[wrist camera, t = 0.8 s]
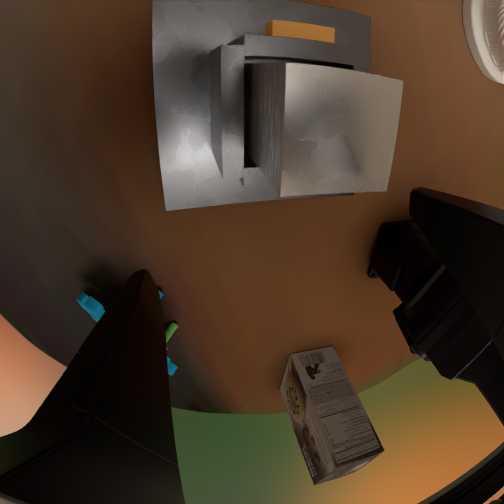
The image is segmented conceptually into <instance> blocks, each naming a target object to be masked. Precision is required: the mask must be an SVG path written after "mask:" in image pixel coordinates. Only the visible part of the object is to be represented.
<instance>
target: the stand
mask: <svg viewBox="0 0 504 504" xmlns="http://www.w3.org/2000/svg"><path fill="white" fill-rule="evenodd" d="M370 30H371V17H367V16H364V15H360V14H356V13H353V12H349V11H344V10H340V9H336V8H331V7H326V6H321V5H315V4H310V3H303V2H297V1H289V0H154V1H153V7H152V47H153V78H154V97H155V112H156V125H157V137H158V148H159V157H160V167H161V175H162V184H163V192H164V199H165V207H166V211H171V210H179V209H187V208H196V207H205V206H214V205H224V204H234V203H245V202H256V201H267V200H280V199H293V198H307V197H323V196H341V195H353V194H354V192H353V193H332V194H314V195H299V196H284V197H280V196H279V194H278V193H277V192H276V190H275V189H274V188H273V186H272V185H271V184H270V182H269V181H268V180H267V179H266V177H265V176H264V175H263V173H262V172H261V171H260V169H259V168H258V167H257V165H256V164H255V163H254V162H253V160H252V159H251V158H250V156H249V155H248V154H247V153H246V151H245V150H244V63H299V64H309V65H319V66H327V67H334V68H341V69H348V70H354V71H359V72H365V73H370V66H371V60H369V55H370Z"/></svg>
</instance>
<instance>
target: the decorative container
mask: <svg viewBox="0 0 504 504" xmlns="http://www.w3.org/2000/svg"><path fill="white" fill-rule="evenodd" d="M462 15H463V26H464V31H465V36H466V40H467V43H468V46H469V49H470V52H471V54H472V56H473V58H474V60H475V63H476V64H477V66H478V67H479V69H480V70H481V72H482V73H483V74H484V75H485V76H486V77H487V78H488V79H491V80H493V81H496V82H499V83H502V84H504V0H463V8H462Z"/></svg>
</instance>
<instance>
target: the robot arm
mask: <svg viewBox="0 0 504 504" xmlns="http://www.w3.org/2000/svg"><path fill="white" fill-rule="evenodd" d="M409 213H410V216H411V218H412V219H413V220H411V221H401V222H390V223H384V224H382V226H381V228H380V231H379V235H378V239H377V243H376V246H375V250H374V253H373V257H372V260H371V264H370V267H369V271H368V276H369V277H370V278H376V277H380V278H381V279H382V280H383V282H384V283H385V284H386V285H387V287H388V288H389V289H390V290H391V291H394V292H395V293H396V294H397V296H398V297H399V298H400V300H401V301H402V303H401V304H400V305H399V306H398V308H397V307H396V308H395V309H394V310H393V314H394V316H395V317H396V318H395V319H396V321H397V323H398V325H399V327H400V329H401V331H402V333H403V335H404V337H405V339H406V341H407V343H408V345H409V349H410V351H411V353H412V354H418V355H419V356H420V357H421V358H422V359H424V360H426V361H431V362H432V363H433V364H434V366H435V367H436V369H437V370H438V372H439V373H440V374H441V376H443V377H446V378H448V379H450V380H453V379H454V378H457V379H461V380H464V381H467V382H471V383H474V384H475V385H476V386H477V387H478V389H479V390H480V392H481V393H482V394H483V396H484V397H485V399H486V400H487V402H488V403H489V404H490V406H491V407H492V409H493V410H494V412H495V413H496V415H497V416H498V418H499V420H500V421H501V423H502V424H503V426H504V210H502V209H499V208H496V207H493V206H490V205H486V204H483V203H480V202H476V201H473V200H469V199H466V198H462V197H459V196H455V195H451V194H447V193H443V192H439V191H435V190H431V189H427V188H423V187H419V188H416V189H413V190H412V191H411V193H410V204H409ZM385 228H386V229H385ZM503 486H504V442H503V443H502V444H501V445H500V446H499V447H497V448H496V449H495V450H494V451H493V452H492V453H490V454H489V455H488V456H487V457H486V458H485V459H483V460H482V461H481V462H479V463H478V464H477V465H475V466H474V467H473V468H471V469H470V470H469V471H467V472H466V473H465V474H463V475H462V476H460V477H459V478H458V479H456V480H455V481H453V482H452V483H450V484H449V485H447V486H446V487H444V488H443V489H441V490H440V491H438V492H436V493H435V494H433V495H431V496H430V497H428V498H427V499H425V500H423V501H421V502H420V503H418V504H483V503H484V502H485V501H487V500H488V499H489V498H490V497H492V496H493V495H494V494H495V493H496V492H497V491H499V490H500V489H501V488H502V487H503ZM0 504H185V501H184V495H183V490H182V484H181V478H180V472H179V467H178V460H177V453H176V446H175V438H174V430H173V421H172V411H171V401H170V390H169V377H168V363H167V345H166V334H165V327H164V321H163V314H162V308H161V301H160V294H159V291H158V288H157V286H156V284H155V282H154V281H153V279H152V277H151V275H150V273H149V272H148V270H146V269H142V270H139V271H136V272H134V273H133V274H132V275H131V277H130V278H129V279H128V281H127V282H126V283H125V285H124V286H123V287H122V289H121V290H120V291H119V293H118V294H117V296H116V297H115V298H114V300H113V301H112V302H111V304H110V305H109V307H108V308H107V309H106V311H105V312H104V314H103V315H102V316H101V318H100V319H99V321H98V322H97V324H96V325H95V327H94V328H93V329H92V331H91V332H90V334H89V335H88V337H87V338H86V340H85V341H84V343H83V344H82V346H81V347H80V349H79V350H78V353H76V355H75V356H74V358H73V360H72V361H71V363H70V364H69V366H68V367H67V369H66V370H65V372H64V373H63V375H62V376H61V378H60V379H59V381H58V382H57V383H56V385H55V386H54V388H53V389H52V390H51V392H50V393H49V395H48V396H47V397H46V399H45V400H44V402H43V403H42V405H41V406H40V407H39V409H38V410H37V412H36V413H35V415H34V416H33V418H32V419H31V420H30V421H29V422H28V424H26V425H25V426H24V427H23V428H21V429H20V430H18V431H16V432H14V433H11V434H8V435H5V436H2V437H0ZM489 504H504V494H503V495H502V496H501V497H500V498H499V499H497V500H494V501H491V502H490V503H489Z"/></svg>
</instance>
